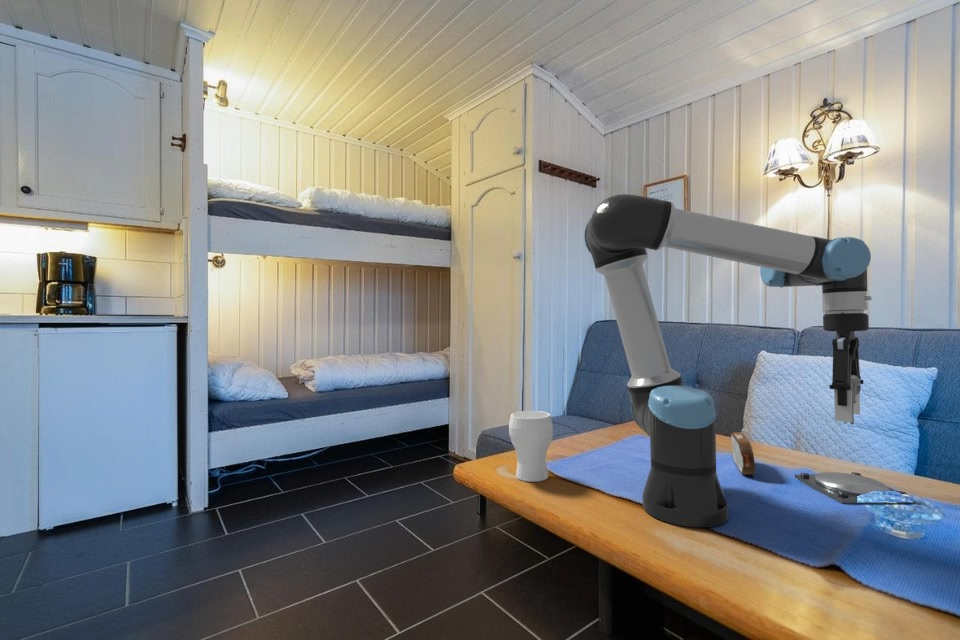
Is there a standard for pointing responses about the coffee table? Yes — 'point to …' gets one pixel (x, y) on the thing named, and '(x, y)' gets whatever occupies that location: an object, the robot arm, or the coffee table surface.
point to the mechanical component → (854, 391)
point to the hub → (843, 485)
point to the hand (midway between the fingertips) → (847, 417)
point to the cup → (531, 443)
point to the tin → (743, 453)
